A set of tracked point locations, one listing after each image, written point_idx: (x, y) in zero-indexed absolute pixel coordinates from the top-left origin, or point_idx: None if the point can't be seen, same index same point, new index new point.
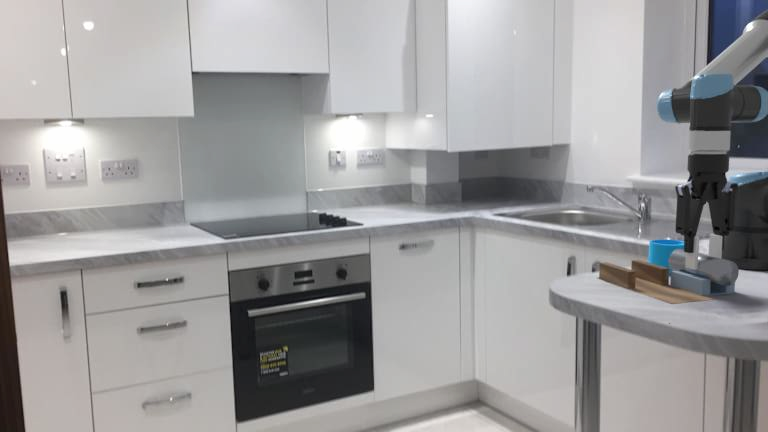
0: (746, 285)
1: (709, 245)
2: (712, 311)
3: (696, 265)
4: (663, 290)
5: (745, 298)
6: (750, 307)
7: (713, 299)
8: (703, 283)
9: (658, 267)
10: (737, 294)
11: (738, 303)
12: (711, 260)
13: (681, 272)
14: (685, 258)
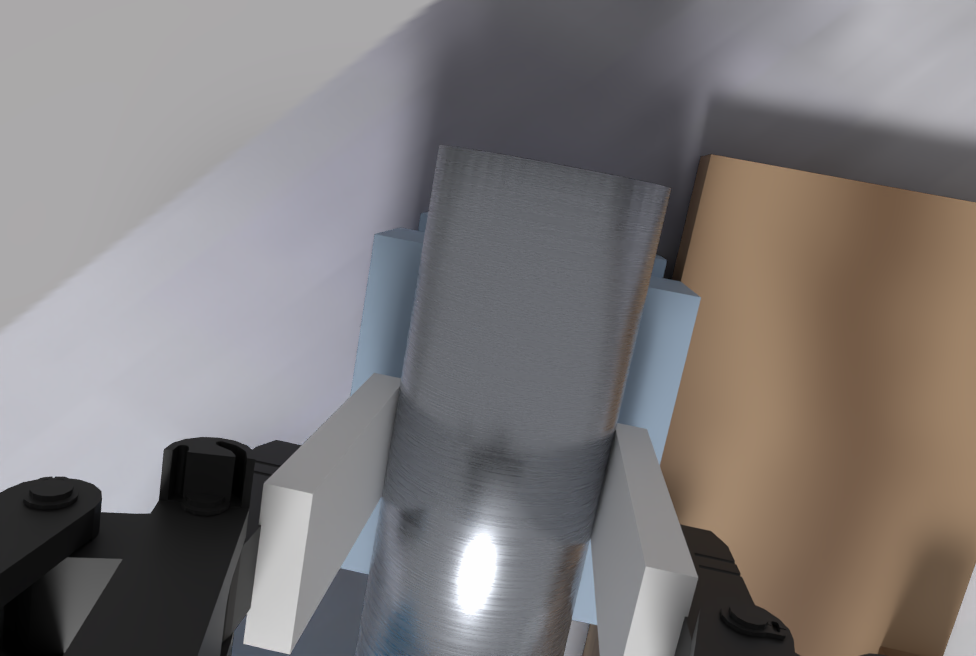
0: (31, 418)
1: (334, 571)
2: (813, 87)
3: (634, 438)
4: (783, 502)
5: (325, 204)
6: (504, 31)
7: (721, 157)
8: (681, 291)
9: None
10: (279, 298)
11: (478, 141)
12: (590, 335)
13: (587, 560)
14: (561, 613)
